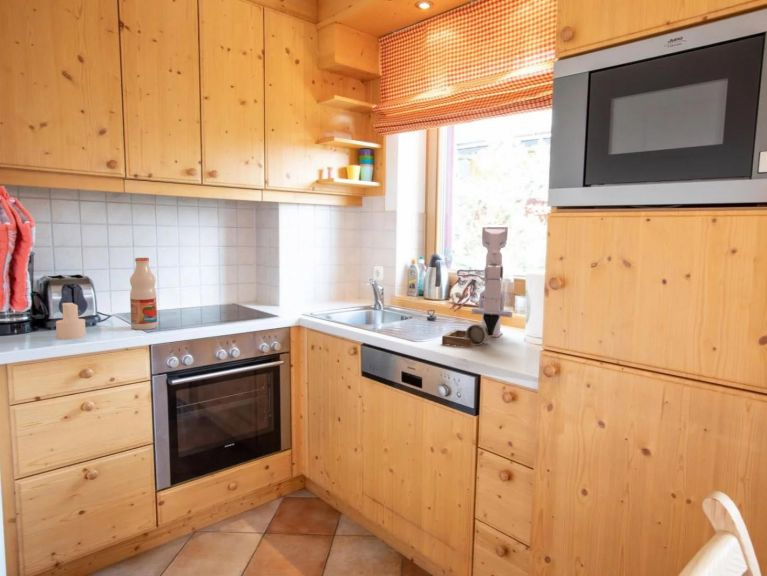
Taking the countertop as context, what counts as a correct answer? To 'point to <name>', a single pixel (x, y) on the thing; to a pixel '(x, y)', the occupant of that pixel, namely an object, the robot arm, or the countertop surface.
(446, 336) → the brown wooden tray
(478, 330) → the ceramic mug
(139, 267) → the fruit juice
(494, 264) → the robot arm
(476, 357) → the countertop surface
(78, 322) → the base with upright slab
